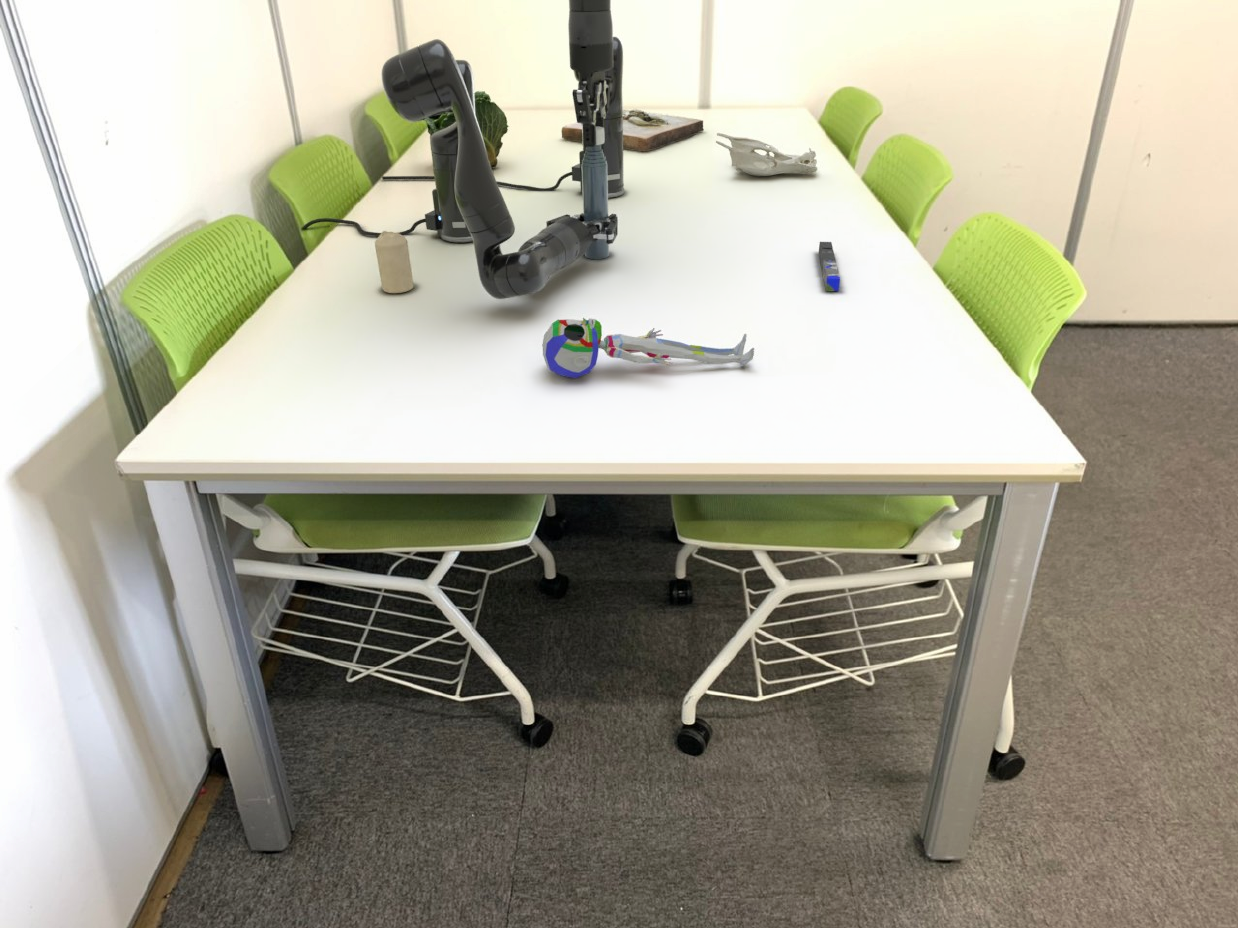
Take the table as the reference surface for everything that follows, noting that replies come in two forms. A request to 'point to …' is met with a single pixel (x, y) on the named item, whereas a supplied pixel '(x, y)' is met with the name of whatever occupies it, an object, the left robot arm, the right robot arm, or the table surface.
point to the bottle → (595, 195)
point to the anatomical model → (766, 158)
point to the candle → (394, 262)
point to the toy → (622, 348)
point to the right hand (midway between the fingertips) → (593, 143)
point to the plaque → (646, 129)
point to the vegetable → (488, 121)
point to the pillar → (829, 266)
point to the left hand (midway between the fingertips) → (602, 217)
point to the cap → (599, 135)
